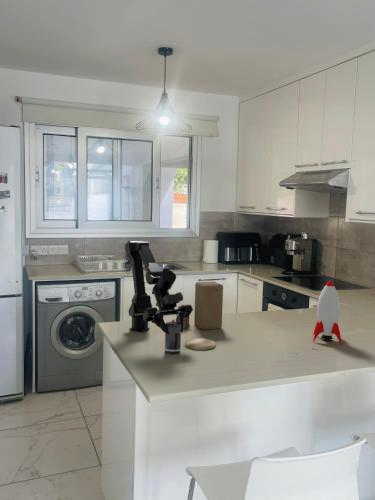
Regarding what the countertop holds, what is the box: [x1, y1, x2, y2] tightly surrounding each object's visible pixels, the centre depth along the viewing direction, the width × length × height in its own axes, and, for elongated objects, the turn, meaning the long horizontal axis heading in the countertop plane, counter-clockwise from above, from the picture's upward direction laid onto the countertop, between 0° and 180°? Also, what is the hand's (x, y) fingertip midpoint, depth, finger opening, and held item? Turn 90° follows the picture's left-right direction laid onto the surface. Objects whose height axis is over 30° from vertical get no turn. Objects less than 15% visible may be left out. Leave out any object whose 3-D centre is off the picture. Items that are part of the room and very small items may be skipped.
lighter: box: [177, 305, 190, 329], centre depth 203 cm, size 8×3×10 cm, turn 141°
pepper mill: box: [164, 319, 182, 355], centre depth 166 cm, size 8×6×12 cm
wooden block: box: [193, 281, 224, 331], centre depth 204 cm, size 10×10×20 cm
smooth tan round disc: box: [184, 337, 217, 351], centre depth 176 cm, size 12×12×1 cm
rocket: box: [312, 280, 343, 346], centre depth 187 cm, size 11×11×25 cm
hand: (174, 332), depth 166 cm, fingers closed on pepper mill, 6 cm apart
